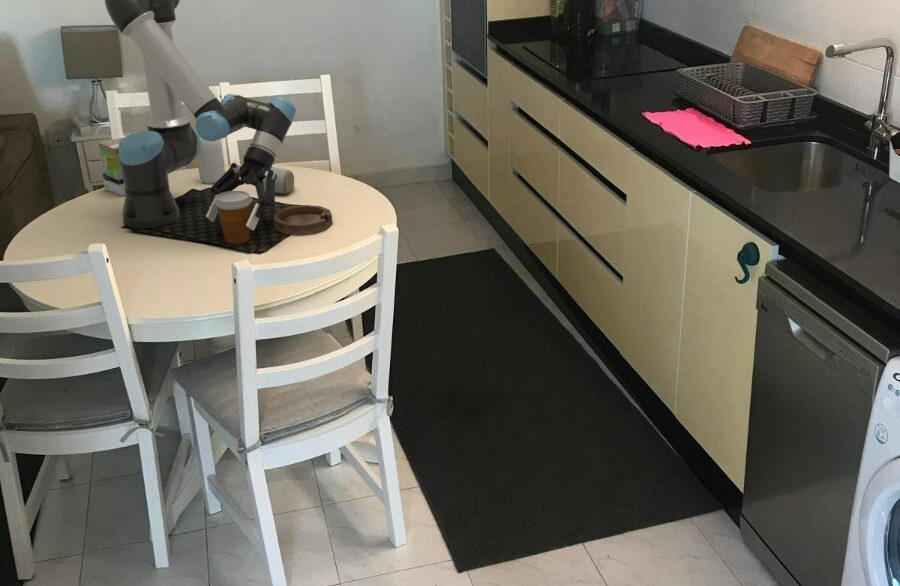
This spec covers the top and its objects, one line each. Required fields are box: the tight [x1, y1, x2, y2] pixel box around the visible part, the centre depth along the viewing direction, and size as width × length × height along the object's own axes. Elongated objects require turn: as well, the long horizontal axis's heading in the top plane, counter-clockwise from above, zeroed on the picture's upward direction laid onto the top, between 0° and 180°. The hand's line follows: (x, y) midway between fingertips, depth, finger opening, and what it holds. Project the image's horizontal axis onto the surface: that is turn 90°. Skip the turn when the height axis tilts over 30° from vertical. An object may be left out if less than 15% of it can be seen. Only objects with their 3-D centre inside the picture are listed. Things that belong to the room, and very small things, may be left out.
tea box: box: [98, 136, 126, 197], centre depth 289 cm, size 15×10×15 cm
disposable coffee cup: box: [215, 190, 253, 245], centre depth 251 cm, size 10×10×12 cm
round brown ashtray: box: [272, 204, 333, 236], centre depth 262 cm, size 15×15×3 cm
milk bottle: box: [196, 137, 226, 185], centre depth 293 cm, size 8×8×20 cm
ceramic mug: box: [263, 166, 295, 195], centre depth 287 cm, size 11×8×8 cm
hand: (229, 223), depth 249 cm, fingers open, 13 cm apart
